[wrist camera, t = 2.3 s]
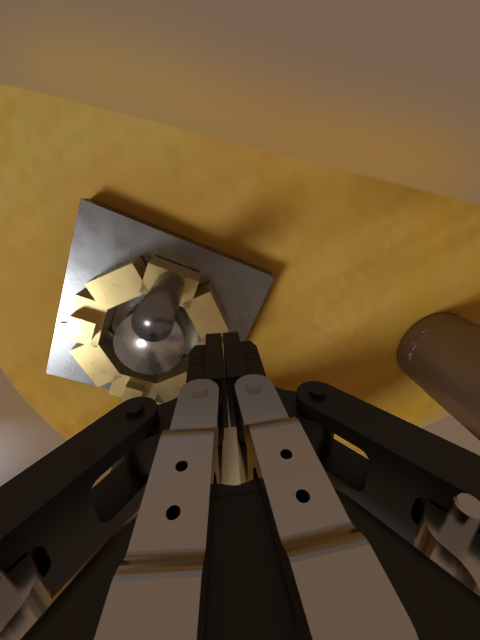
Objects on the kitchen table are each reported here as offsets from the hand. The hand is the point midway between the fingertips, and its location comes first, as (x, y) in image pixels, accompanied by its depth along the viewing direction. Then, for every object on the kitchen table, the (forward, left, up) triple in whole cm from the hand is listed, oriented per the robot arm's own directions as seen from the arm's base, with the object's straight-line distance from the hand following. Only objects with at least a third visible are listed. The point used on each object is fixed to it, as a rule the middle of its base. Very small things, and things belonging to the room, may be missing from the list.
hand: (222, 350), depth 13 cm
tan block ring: (+4, +7, -14) cm, 17 cm away
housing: (+4, +7, -17) cm, 19 cm away
